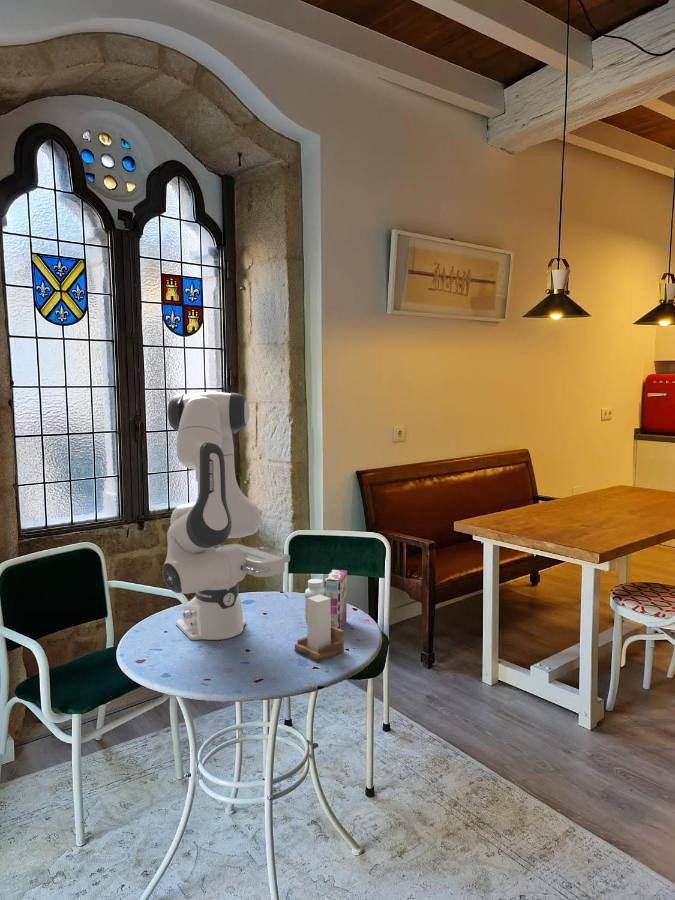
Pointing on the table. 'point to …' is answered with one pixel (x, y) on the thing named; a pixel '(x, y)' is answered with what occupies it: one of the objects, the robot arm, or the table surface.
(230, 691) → the table surface
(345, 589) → the candy bar box
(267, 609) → the table surface
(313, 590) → the supplement bottle
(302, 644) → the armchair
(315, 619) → the cream block
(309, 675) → the table surface
